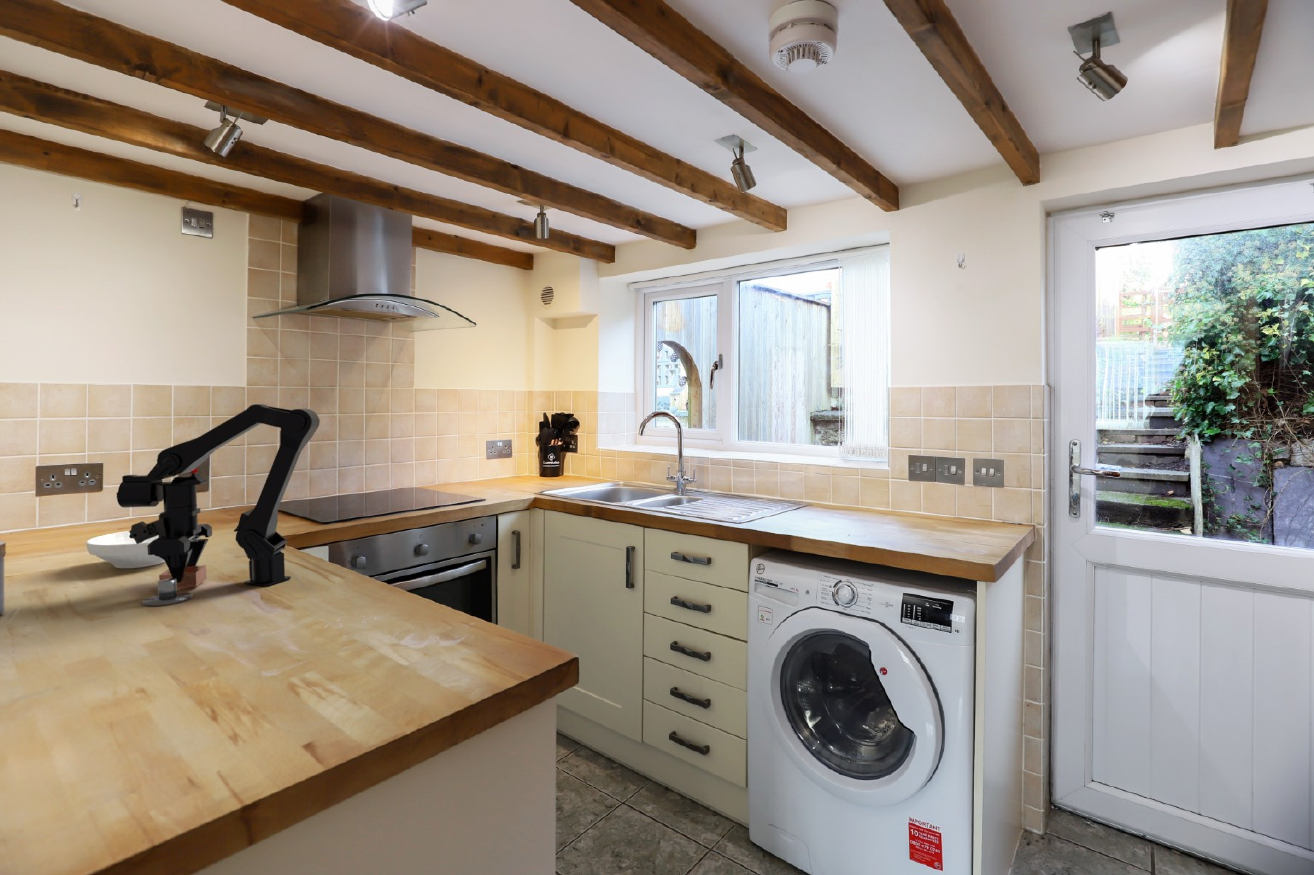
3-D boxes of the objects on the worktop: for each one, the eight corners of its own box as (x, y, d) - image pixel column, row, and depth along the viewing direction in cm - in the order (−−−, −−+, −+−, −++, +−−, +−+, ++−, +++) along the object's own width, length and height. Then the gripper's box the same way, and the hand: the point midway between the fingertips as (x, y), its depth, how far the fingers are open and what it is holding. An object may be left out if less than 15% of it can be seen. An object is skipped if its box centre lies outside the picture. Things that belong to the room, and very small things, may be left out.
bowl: (64, 574, 151) (62, 543, 150) (144, 554, 170) (142, 526, 170) (137, 577, 148) (135, 546, 147) (210, 557, 167) (208, 529, 166)
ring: (206, 578, 144) (206, 565, 144) (196, 586, 138) (195, 572, 138) (171, 581, 142) (171, 567, 142) (159, 589, 136) (159, 575, 136)
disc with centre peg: (202, 596, 134) (201, 576, 133) (162, 608, 126) (161, 587, 126) (172, 592, 136) (171, 573, 136) (132, 604, 128) (131, 584, 128)
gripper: (153, 501, 146) (156, 570, 147) (114, 515, 128) (118, 594, 129) (211, 498, 149) (214, 566, 150) (181, 512, 131) (184, 588, 132)
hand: (183, 578), depth 140 cm, fingers closed on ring, 6 cm apart
